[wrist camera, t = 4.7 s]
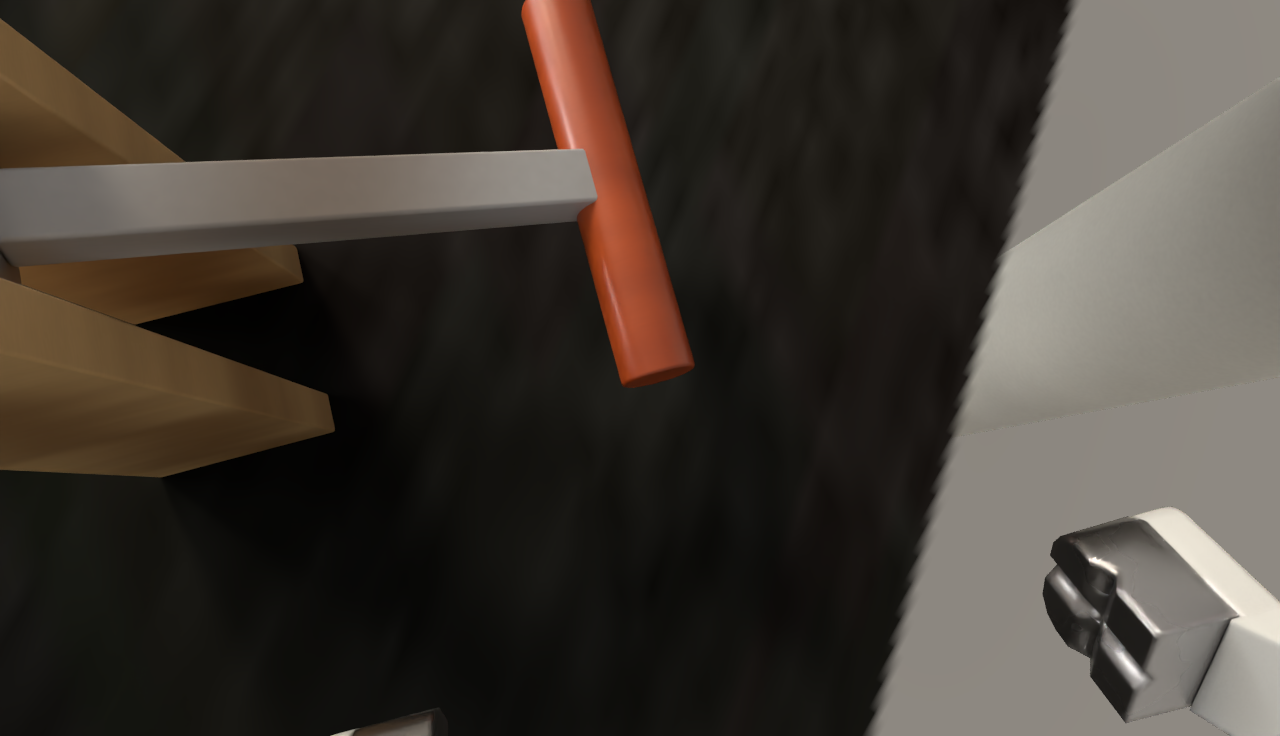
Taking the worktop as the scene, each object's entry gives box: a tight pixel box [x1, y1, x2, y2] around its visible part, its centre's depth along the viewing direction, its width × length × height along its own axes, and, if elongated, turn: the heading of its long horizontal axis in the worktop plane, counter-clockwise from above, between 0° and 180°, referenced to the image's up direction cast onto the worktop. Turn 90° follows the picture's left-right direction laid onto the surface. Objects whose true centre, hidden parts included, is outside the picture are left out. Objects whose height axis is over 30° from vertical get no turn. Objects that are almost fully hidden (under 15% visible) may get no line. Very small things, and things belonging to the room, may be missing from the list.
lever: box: [0, 0, 695, 388], centre depth 13 cm, size 13×8×2 cm, turn 105°
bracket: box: [0, 19, 335, 477], centre depth 15 cm, size 12×9×14 cm
